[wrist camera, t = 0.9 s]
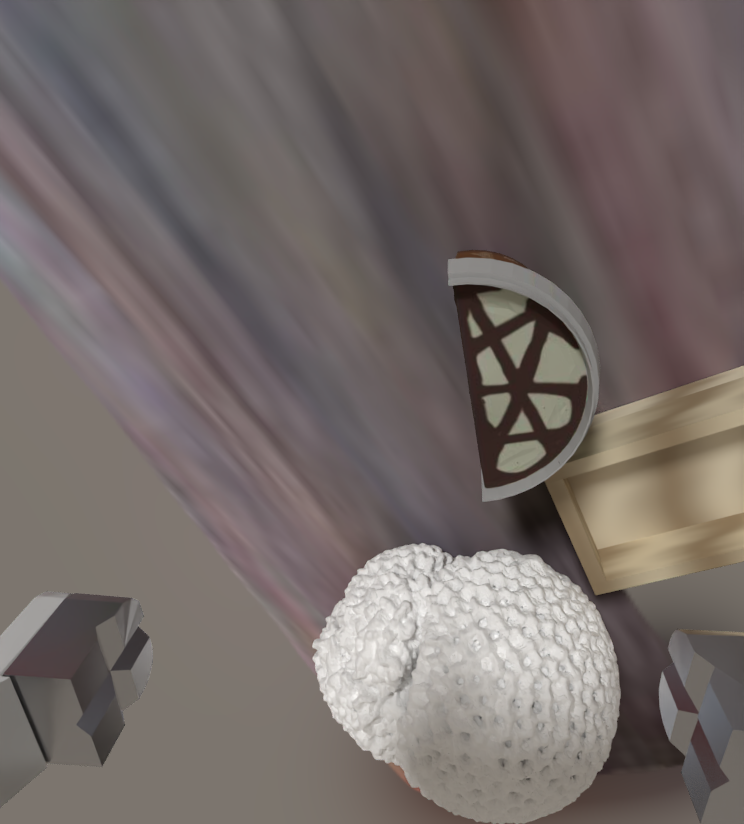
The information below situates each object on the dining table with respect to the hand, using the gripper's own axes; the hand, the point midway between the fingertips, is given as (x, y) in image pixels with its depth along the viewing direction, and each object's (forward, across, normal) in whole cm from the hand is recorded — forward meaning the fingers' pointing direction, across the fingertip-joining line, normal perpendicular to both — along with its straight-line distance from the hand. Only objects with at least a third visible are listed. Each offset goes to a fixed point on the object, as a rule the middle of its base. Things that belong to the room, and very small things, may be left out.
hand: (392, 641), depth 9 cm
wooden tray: (+28, -16, +12) cm, 34 cm away
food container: (+28, -5, +3) cm, 29 cm away
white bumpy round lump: (+29, -3, +26) cm, 39 cm away
